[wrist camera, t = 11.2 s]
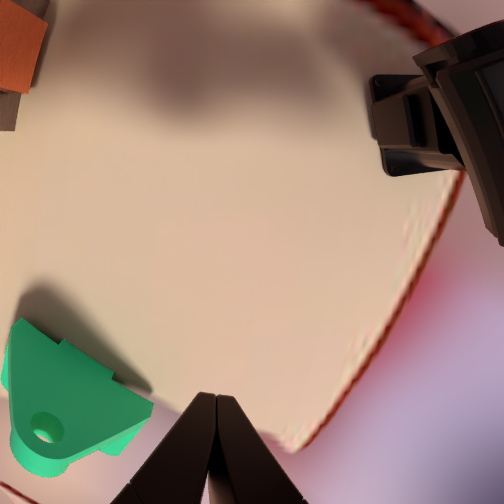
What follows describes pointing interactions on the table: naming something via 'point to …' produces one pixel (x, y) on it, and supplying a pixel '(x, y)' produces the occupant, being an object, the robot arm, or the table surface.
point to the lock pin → (18, 46)
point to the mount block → (6, 104)
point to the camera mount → (64, 403)
